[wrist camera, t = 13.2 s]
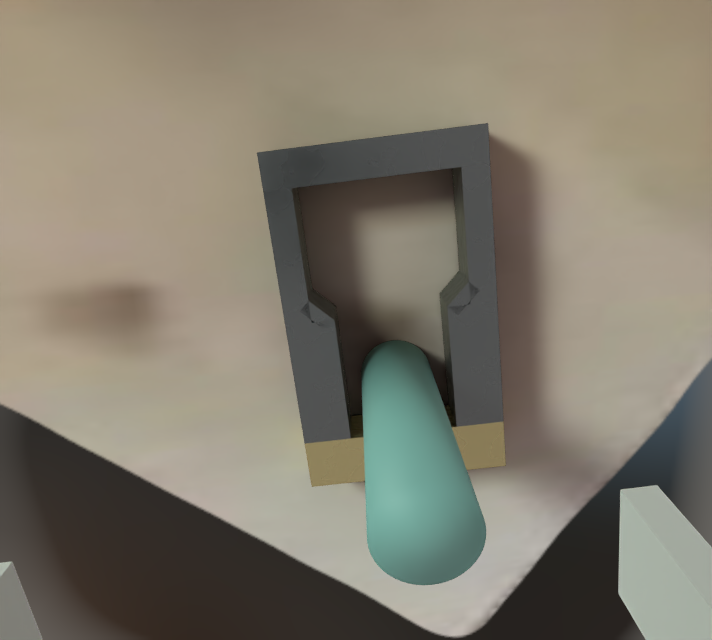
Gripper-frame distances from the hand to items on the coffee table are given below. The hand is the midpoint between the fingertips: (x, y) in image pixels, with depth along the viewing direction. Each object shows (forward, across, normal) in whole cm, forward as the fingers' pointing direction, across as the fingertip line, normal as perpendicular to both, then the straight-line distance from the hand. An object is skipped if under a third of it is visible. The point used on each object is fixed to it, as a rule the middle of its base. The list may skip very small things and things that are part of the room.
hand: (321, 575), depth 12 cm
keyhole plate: (+24, +3, -2) cm, 24 cm away
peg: (+23, +3, -6) cm, 24 cm away
